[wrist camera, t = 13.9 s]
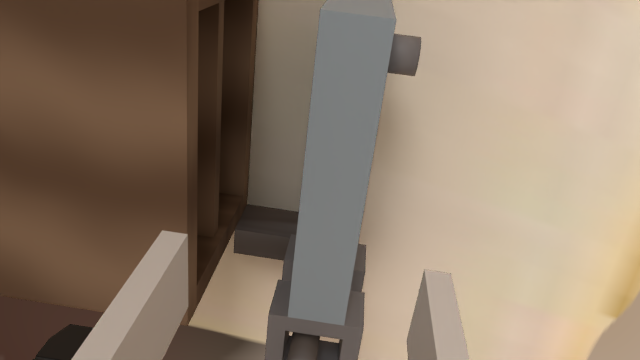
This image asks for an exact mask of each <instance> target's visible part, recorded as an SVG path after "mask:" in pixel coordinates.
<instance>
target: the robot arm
mask: <svg viewBox="0 0 640 360" xmlns="http://www.w3.org/2000/svg"><path fill="white" fill-rule="evenodd" d="M187 308H188V234H183V233H176V232H170V231H163V230H162V231H161V233H160V234H159V236H158V237H157V239H156V240H155V241H154V243H153V244H152V246H151V247H150V249H149V250H148V251H147V253H146V254H145V256H144V257H143V258H142V260H141V261H140V263H139V264H138V266H137V267H136V268H135V270H134V271H133V273H132V274H131V276H130V277H129V278H128V280H127V281H126V283H125V284H124V285H123V287H122V288H121V290H120V291H119V293H118V294H117V295H116V297H115V298H114V300H113V301H112V302H111V304H110V305H109V307H108V308H107V310H106V311H105V312H104V314H103V315H102V317H101V318H100V320H99V321H98V322H97V324H96V325H95V327H94V328H92V327H85V326H79V325H72V324H70V325H68V326H67V327H65V328H64V329H62V330H61V331H59V332H58V333H57V334H55V335H54V336H52V337H51V338H50V339H49V340H48V341H47V342H46V344H45V345H44V346H43V347H42V349H41V350H40V351H39V352H38V354H37V355H36V358H35V359H33V360H162V359H163V357H164V355H165V353H166V351H167V349H168V347H169V345H170V343H171V341H172V339H173V337H174V335H175V333H176V331H177V329H178V327H179V325H180V323H181V321H182V319H183V317H184V315H185V313H186V311H187ZM407 351H408V360H470V359H469V355H468V350H467V345H466V341H465V336H464V331H463V327H462V322H461V318H460V313H459V308H458V304H457V299H456V294H455V290H454V285H453V281H452V276H451V273H445V272H438V271H431V270H425V269H424V273H423V277H422V281H421V285H420V289H419V293H418V297H417V301H416V305H415V309H414V313H413V317H412V321H411V325H410V329H409V333H408V337H407Z"/></svg>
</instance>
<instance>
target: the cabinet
mask: <svg viewBox="0 0 640 360" xmlns="http://www.w3.org/2000/svg"><path fill="white" fill-rule="evenodd" d="M257 16H258V0H0V296H5V297H11V298H18V299H24V300H30V301H36V302H42V303H48V304H55V305H61V306H67V307H73V308H80V309H86V310H92V311H98V312H105V311H106V310H107V308H108V307H109V305H110V304H111V302H112V301H113V300H114V298H115V297H116V295H117V294H118V293H119V291H120V290H121V288H122V287H123V285H124V284H125V283H126V281H127V280H128V278H129V277H130V276H131V274H132V273H133V271H134V270H135V268H136V267H137V266H138V264H139V263H140V261H141V260H142V258H143V257H144V256H145V254H146V253H147V251H148V250H149V249H150V247H151V246H152V244H153V243H154V241H155V240H156V239H157V237H158V236H159V234H160V233H161V231H162V230H163V231H170V232H176V233H183V234H188V308H187V311H186V313H185V315H184V317H183V319H182V321H181V323H180V325H185V326H188V324H189V322H190V320H191V318H192V316H193V314H194V312H195V310H196V308H197V306H198V304H199V302H200V300H201V298H202V295H203V293H204V291H205V289H206V287H207V285H208V283H209V281H210V279H211V277H212V275H213V273H214V271H215V269H216V267H217V265H218V263H219V261H220V259H221V257H222V255H223V253H224V250H225V248H226V246H227V244H228V242H229V240H230V238H231V236H232V234H233V232H234V230H235V237H234V253H239V254H245V255H252V256H258V257H265V258H272V259H278V260H284V258H285V254H286V251H287V247H288V244H289V240H290V236H291V234H294V235H296V234H297V225H298V215H299V212H294V211H288V210H281V209H274V208H268V207H261V206H254V205H247V196H248V178H249V160H250V142H251V124H252V106H253V88H254V70H255V52H256V34H257ZM319 339H320V336H316V335H310V334H303V333H297V332H293V335H292V339H291V344H290V349H289V353H288V358H287V360H317V353H318V346H319Z"/></svg>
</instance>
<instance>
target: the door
mask: <svg viewBox="0 0 640 360" xmlns="http://www.w3.org/2000/svg"><path fill="white" fill-rule="evenodd" d="M395 24H396V16H395V12H394V8H393V4H392V0H327V1H326V2H325V4H324V5H323V6H322V8H321V9H320V17H319V26H318V36H317V45H316V55H315V64H314V74H313V83H312V92H311V102H310V111H309V121H308V130H307V140H306V149H305V159H304V168H303V177H302V187H301V196H300V206H299V215H298V225H297V234H296V235H294V234H291V236H290V240H289V244H288V247H287V251H286V254H285V258H284V264H283V275H282V280H278V283H277V286H276V290H275V293H274V297H273V300H272V304H271V307H270V311H269V316H268V327H267V339H266V352H265V360H287V358H288V353H289V349H290V344H291V339H292V336H289V331H290V332H297V333H303V334H310V335H316V336H323V337H329V338H336V339H340V341H339V343H334V342H328V341H321V340H319V346H318V353H317V360H358V354H359V349H360V344H361V339H362V334H363V327H364V293H363V292H362V286H363V281H364V275H365V260H366V245H362V244H358V241H359V235H360V230H361V224H362V218H363V212H364V206H365V200H366V194H367V188H368V183H369V177H370V171H371V165H372V159H373V153H374V147H375V142H376V136H377V130H378V124H379V118H380V112H381V106H382V100H383V95H384V89H385V83H386V77H387V73H395V74H402V75H410V76H415V73H416V70H417V66H418V61H419V56H420V49H421V37H415V36H407V35H400V34H394V30H395Z"/></svg>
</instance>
